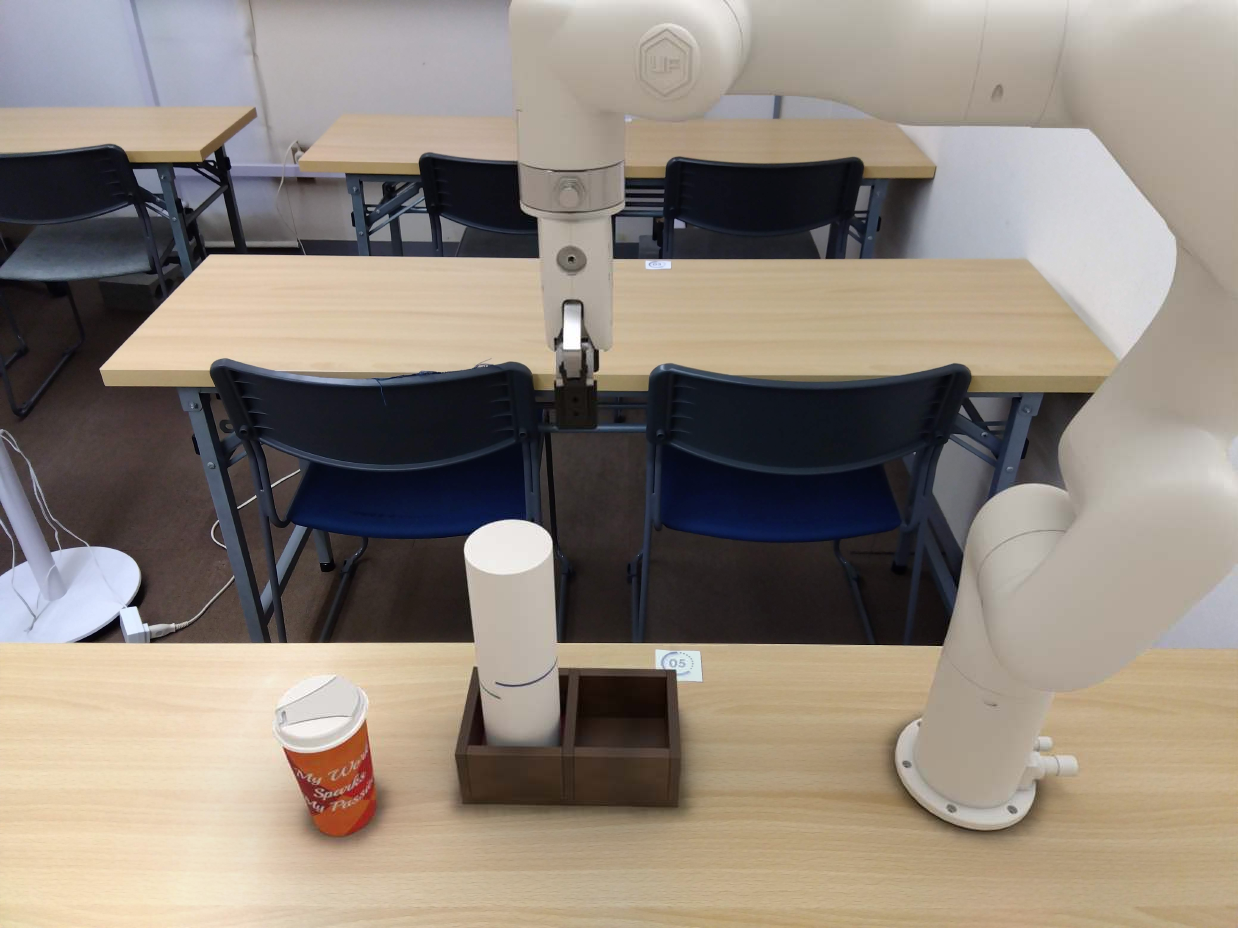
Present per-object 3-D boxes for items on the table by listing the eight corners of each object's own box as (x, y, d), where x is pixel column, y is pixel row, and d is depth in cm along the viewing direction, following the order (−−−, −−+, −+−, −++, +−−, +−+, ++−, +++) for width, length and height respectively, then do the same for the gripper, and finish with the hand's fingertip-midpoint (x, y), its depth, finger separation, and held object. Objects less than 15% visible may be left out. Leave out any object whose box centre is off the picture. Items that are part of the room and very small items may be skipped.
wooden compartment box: (673, 717, 88) (676, 668, 84) (677, 807, 79) (681, 757, 75) (479, 714, 88) (473, 665, 84) (461, 803, 79) (454, 753, 75)
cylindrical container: (550, 786, 79) (538, 580, 66) (477, 773, 80) (450, 567, 67) (569, 726, 85) (562, 525, 72) (501, 714, 86) (481, 514, 73)
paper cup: (310, 861, 74) (277, 755, 67) (295, 793, 80) (262, 688, 72) (399, 824, 77) (377, 719, 70) (378, 761, 83) (355, 658, 75)
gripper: (627, 221, 53) (626, 453, 63) (623, 156, 68) (623, 352, 77) (506, 222, 53) (524, 454, 63) (529, 156, 68) (540, 353, 77)
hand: (579, 397), depth 70 cm, fingers open, 9 cm apart
